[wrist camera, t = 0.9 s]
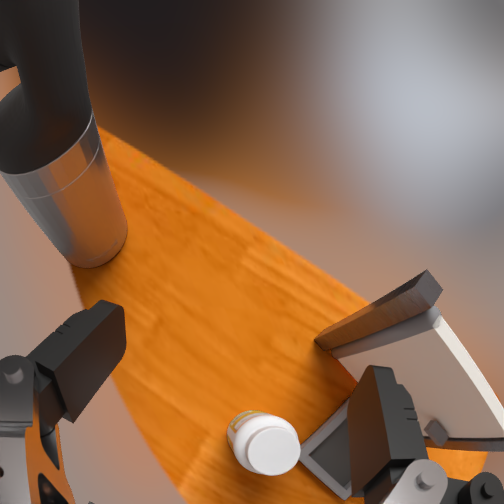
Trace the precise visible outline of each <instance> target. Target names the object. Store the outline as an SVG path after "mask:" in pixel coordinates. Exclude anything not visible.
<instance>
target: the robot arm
mask: <svg viewBox="0 0 504 504" xmlns="http://www.w3.org/2000/svg"><path fill="white" fill-rule="evenodd" d="M14 66H17V68H18V72H19V76H20V80H21V83H20V84H19V85H18V86H16V87H15V88H14V89H13V90H12V91H11V92H9V93H8V94H7V95H6V96H5V97H4V98H3V99H2V100H1V101H0V174H1V175H2V177H3V178H4V179H5V181H6V182H7V184H8V185H9V187H10V188H11V189H12V191H13V192H14V194H15V195H16V197H17V198H18V199H19V201H20V202H21V203H22V205H23V206H24V208H25V209H26V210H27V212H28V213H29V214H30V216H31V217H32V218H33V219H34V221H35V222H36V223H37V225H38V226H39V227H40V228H41V229H42V231H43V232H44V233H45V234H46V236H47V237H48V238H49V240H50V241H51V242H52V243H53V245H54V246H55V247H56V248H57V249H58V250H59V252H60V253H61V254H62V255H63V256H64V257H65V258H66V260H67V261H69V262H70V263H71V264H73V265H75V266H77V267H81V268H94V267H97V266H100V265H103V264H104V263H106V262H108V261H109V260H111V259H112V258H113V257H114V256H115V255H116V254H117V253H118V252H119V251H120V249H121V247H122V246H123V244H124V242H125V239H126V236H127V221H126V218H125V215H124V213H123V210H122V207H121V204H120V200H119V197H118V194H117V191H116V188H115V185H114V182H113V179H112V176H111V173H110V170H109V167H108V163H107V160H106V157H105V153H104V150H103V147H102V143H101V140H100V136H99V133H98V129H97V126H96V122H95V118H94V114H93V110H92V106H91V102H90V98H89V93H88V86H87V78H86V69H85V62H84V56H83V50H82V44H81V34H80V24H79V4H78V0H0V72H1V71H4V70H6V69H9V68H12V67H14ZM125 350H126V331H125V317H124V309H123V307H122V306H120V305H117V304H114V303H111V302H108V301H105V300H100V301H98V302H97V303H96V304H95V305H94V306H93V307H92V308H90V309H89V310H87V309H85V310H82V311H80V312H78V313H75V314H73V315H72V316H71V317H69V318H68V319H67V320H66V321H65V322H64V323H63V325H60V326H59V327H58V328H57V329H56V331H55V332H53V333H52V334H50V335H49V336H48V337H47V338H46V339H45V340H44V341H43V342H42V343H40V344H39V345H38V346H37V347H36V348H35V349H34V350H33V351H32V352H31V353H30V354H29V355H28V356H26V357H23V356H19V355H12V356H8V357H5V358H3V359H1V360H0V504H75V500H74V497H73V494H72V491H71V488H70V486H69V484H68V482H67V479H66V476H65V471H64V465H63V458H62V451H61V444H60V435H59V427H58V424H57V423H58V421H59V420H60V419H61V418H62V417H63V418H65V419H67V420H68V421H70V422H72V423H74V422H75V420H76V419H77V418H78V416H79V415H80V414H81V412H82V411H83V410H84V408H85V407H86V405H87V404H88V403H89V401H90V400H91V399H92V397H93V396H94V395H95V393H96V392H97V391H98V389H99V388H100V387H101V385H102V384H103V383H104V381H105V380H106V379H107V377H108V376H109V375H110V373H111V372H112V371H113V369H114V368H115V367H116V366H117V364H118V363H119V362H120V360H121V359H122V357H123V355H124V353H125ZM417 420H418V417H417V413H416V411H415V407H414V403H413V400H412V397H411V395H410V394H409V392H408V391H407V390H406V388H405V387H404V386H403V385H402V384H397V382H396V378H395V375H394V372H393V369H392V368H390V367H383V366H375V365H368V366H367V367H366V369H365V371H364V373H363V375H362V377H361V379H360V380H359V382H358V384H357V386H356V388H355V390H354V392H353V393H352V395H351V397H350V400H349V403H348V407H347V421H348V434H349V448H350V466H351V492H352V497H364V501H365V504H504V490H503V486H502V484H501V482H500V480H499V479H498V478H497V477H496V476H495V475H493V474H492V473H489V472H482V473H479V474H477V475H476V476H475V477H474V478H473V479H471V480H470V481H469V482H468V481H463V480H457V479H452V478H448V477H447V475H446V473H445V471H444V469H443V468H442V467H441V466H440V465H439V464H437V463H436V462H434V461H431V460H429V458H428V454H427V450H426V446H425V442H424V438H423V435H422V431H421V427H420V424H419V421H417ZM88 504H94V503H92V502H89V503H88Z"/></svg>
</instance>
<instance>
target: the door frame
mask: <svg viewBox="0 0 504 504" xmlns="http://www.w3.org/2000/svg"><path fill="white" fill-rule="evenodd" d="M442 291H443V289H442V288H441V286H440V285H439V284H438V282H437V281H436V280H435V279H434V277H433V276H432V275H431V274H430V272H429V271H428V270H425V271H424V272H422V273H420V274H419V275H417V276H416V277H414V278H413V279H411V280H409V281H408V282H406V283H405V284H403V285H402V286H400V287H398V288H396V289H395V290H393V291H392V292H390V293H388V294H387V295H385V296H384V297H382V298H380V299H378V300H377V301H375V302H373V303H371V304H369V305H368V306H366V307H364V308H362V309H361V310H359V311H357V312H355V313H354V314H352V315H350V316H348V317H346V318H344V319H343V320H341V321H339V322H337V323H335V324H333V325H331V326H330V327H328V328H326V329H324V330H323V331H322V332H321V333H320V334H319V335H318V336H317V337H316V338H315V339H314V340H315V341H316V342H317V344H318V345H319V346H320V347H321V348H322V349H323V350H324V351H326V350H329V349H332V348H335V347H337V346H340V345H343V344H346V343H349V342H351V341H354V340H357V339H359V338H362V337H364V336H367V335H370V334H372V333H375V332H377V331H380V330H382V329H385V328H387V327H389V326H392V325H394V324H397V323H399V322H401V321H404V320H406V319H408V318H410V317H413V316H415V315H417V314H419V313H422V312H424V311H426V310H428V309H430V308H432V307H433V305H434V304H435V302H436V300H437V299H438V297H439V296H440V294H441V292H442ZM423 438H424V442H425V446H426V447H430V448H440V449H451V450H465V451H498V452H500V451H501V452H502V451H504V437H499V438H453V437H448V439H447V440H446V442H445V443H444V445H443V446H437V445H436V444H435V443H434V442H433V440H432V439H431V438H430V437H429V436H423Z"/></svg>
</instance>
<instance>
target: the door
mask: <svg viewBox="0 0 504 504" xmlns="http://www.w3.org/2000/svg"><path fill="white" fill-rule="evenodd" d="M331 354H332V356H333V357H334V358H335V359H338V361H339V362H340V363H341V364H342V365H343V366H344V367H345V369H346V370H347V371H348V372H349V373H350V374H351V375H352V376H353V378H354V379H355V380H356V381H357V382H359V380H360V379H361V377H362V375H363V373H364V371H365V369H366V367H367V366H368V365H375V366H383V367H390V368H392V369H393V372H394V375H395V378H396V382H397V384H402V385H403V386H404V387H405V388H406V390H407V391H408V392H409V394H410V395H411V397H412V400H413V403H414V407H415V411H416V413H417V417H418V420H417V421H419V424H420V427H421V431H422V435H423V436H429V437H430V438H431V439H432V440H433V442H434V443H435V444H436V445H437V446H443V445H444V443H445V442H446V440H447V439H448V437H453V438H499V437H504V409H503V407H502V405H501V403H500V402H499V400H498V398H497V397H496V395H495V393H494V392H493V390H492V389H491V387H490V386H489V384H488V382H487V381H486V379H485V378H484V376H483V375H482V373H481V371H480V370H479V368H478V367H477V365H476V364H475V362H474V361H473V360H472V358H471V356H470V355H469V354H468V352H467V351H466V349H465V348H464V346H463V345H462V344H461V342H460V341H459V340H458V338H457V337H456V335H455V334H454V333H453V331H452V330H451V328H450V327H449V326H448V325H447V323H446V322H445V320H444V319H443V318H442V316H441V312H440V310H439V309H438V308H437V307H436V306H434V305H433V307H432V308H430V309H428V310H426V311H424V312H422V313H419V314H417V315H415V316H413V317H410V318H408V319H406V320H404V321H401V322H399V323H397V324H394V325H392V326H389V327H387V328H385V329H382V330H380V331H377V332H375V333H372V334H370V335H367V336H364V337H362V338H359V339H357V340H354V341H351V342H349V343H346V344H343V345H340V346H337V347H335V348H332V350H331Z"/></svg>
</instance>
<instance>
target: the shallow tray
mask: <svg viewBox="0 0 504 504" xmlns="http://www.w3.org/2000/svg"><path fill="white" fill-rule="evenodd" d="M349 400H350V397H349V398H348V399H347V400H346V401H345V402H344V403H343V404H342V405H341V406H340V407H339V408H338V409H337V411H336V412H335V413H334V414H333V415H332V416H331V417H330V418H329V419H328V420H327V421H326V422H324V423H323V424H322V425H321V426H320V427H319V428H318V429H317V430H316V431H315V432H314V433H313V434H312V435H311V436H310V437H309V438H308V439H306V440H305V441H304V442H303V443H302V444H301V445H300V448H301V452H300V457H299V459H298V460H299V461H300V462H301V463H302V464H303V465H304V466H305V467H307V468H308V469H309V470H310V471H311V472H312V473H313V474H314V475H315V476H316V477H317V478H318V479H320V480H321V481H322V482H323V483H324V484H325V485H326V486H327V487H328V488H330V489H331V490H332V491H333V492H334V493H335V494H336V495H338V496H339V497H340V498H341V499H343V500H346V499H347V498H348V497H349V496H350V495H351V494H352V492H351V466H350V448H349V434H348V421H347V407H348V403H349Z"/></svg>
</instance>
